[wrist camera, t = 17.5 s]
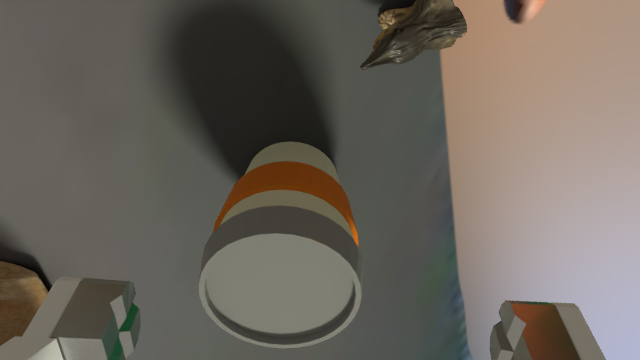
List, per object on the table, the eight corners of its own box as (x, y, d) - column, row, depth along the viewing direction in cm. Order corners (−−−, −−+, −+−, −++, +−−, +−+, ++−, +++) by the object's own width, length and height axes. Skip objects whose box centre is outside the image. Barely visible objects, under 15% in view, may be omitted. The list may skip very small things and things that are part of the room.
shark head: (367, 56, 45) (367, 103, 40) (352, -15, 41) (351, 29, 36) (463, 39, 43) (475, 86, 38) (458, -37, 39) (471, 6, 34)
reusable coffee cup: (374, 209, 53) (388, 327, 41) (262, 244, 56) (243, 365, 43) (327, 105, 46) (327, 207, 34) (204, 150, 49) (161, 260, 37)
